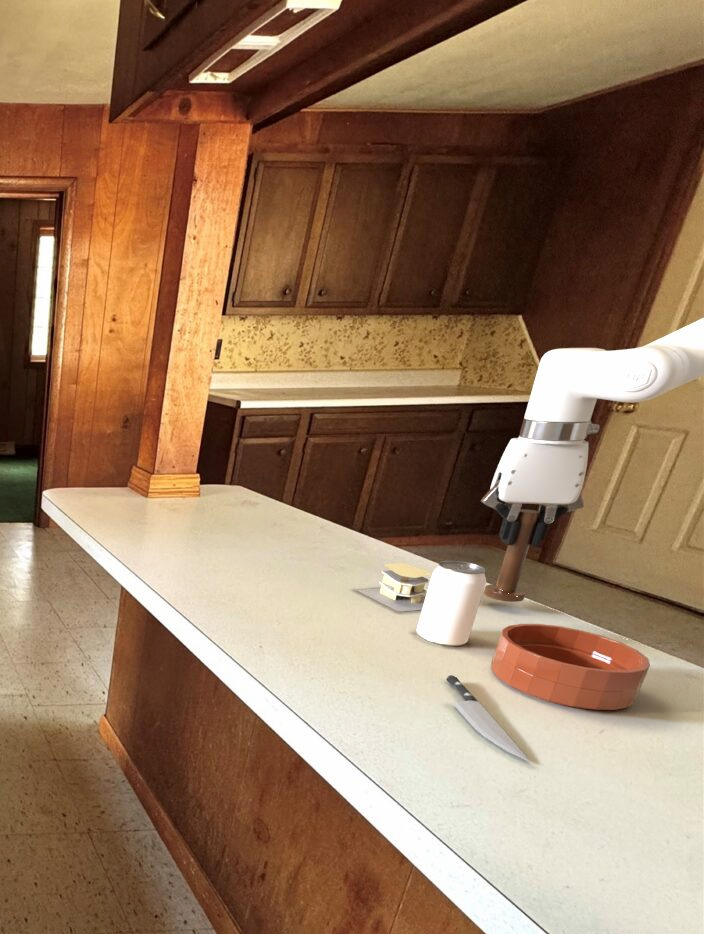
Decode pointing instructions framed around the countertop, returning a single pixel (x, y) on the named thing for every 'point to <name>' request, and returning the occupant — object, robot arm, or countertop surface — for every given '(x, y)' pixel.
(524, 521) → the brown post with base
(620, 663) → the bowl
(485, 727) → the chef's knife
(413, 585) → the stacked layers on plate
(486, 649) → the countertop surface
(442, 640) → the can
